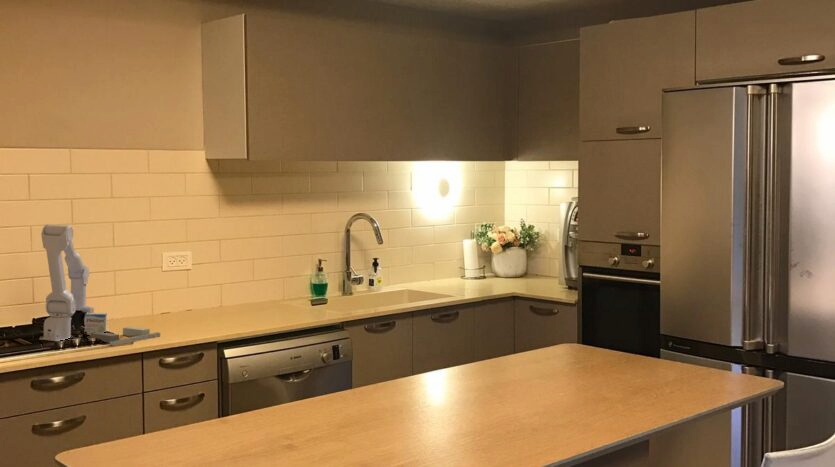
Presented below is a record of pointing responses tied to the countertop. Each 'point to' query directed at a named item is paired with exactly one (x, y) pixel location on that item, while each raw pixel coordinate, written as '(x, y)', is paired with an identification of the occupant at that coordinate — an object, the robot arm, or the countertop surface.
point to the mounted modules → (126, 331)
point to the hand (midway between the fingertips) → (77, 329)
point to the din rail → (134, 339)
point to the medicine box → (95, 322)
